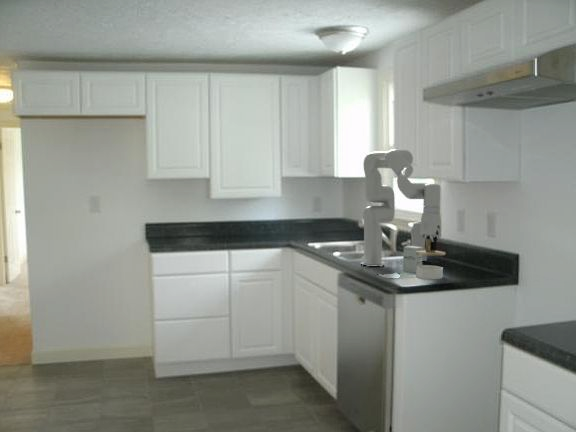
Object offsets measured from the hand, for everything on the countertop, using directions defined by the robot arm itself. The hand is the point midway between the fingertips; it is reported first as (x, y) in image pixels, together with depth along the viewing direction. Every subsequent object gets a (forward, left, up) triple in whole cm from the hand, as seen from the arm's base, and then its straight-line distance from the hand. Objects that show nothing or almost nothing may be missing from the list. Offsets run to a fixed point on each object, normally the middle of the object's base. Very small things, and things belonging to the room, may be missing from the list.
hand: (430, 249), depth 282 cm
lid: (0, 0, -2) cm, 2 cm away
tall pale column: (-45, +29, -14) cm, 55 cm away
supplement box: (-18, +4, -14) cm, 23 cm away
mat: (-9, -14, -14) cm, 22 cm away
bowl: (0, 0, -14) cm, 14 cm away
